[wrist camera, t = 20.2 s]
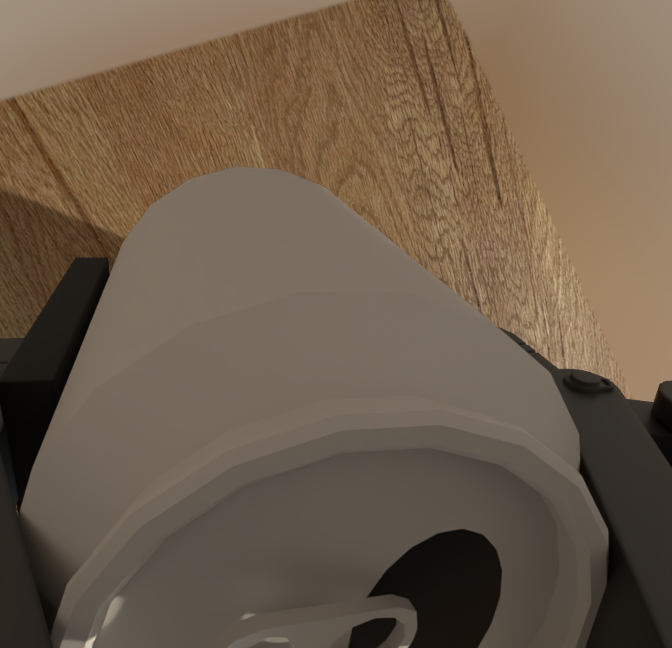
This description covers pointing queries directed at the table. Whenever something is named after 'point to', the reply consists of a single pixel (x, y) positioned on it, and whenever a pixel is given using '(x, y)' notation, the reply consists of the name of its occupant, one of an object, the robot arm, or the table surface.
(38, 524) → the can
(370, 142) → the table surface
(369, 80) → the table surface
